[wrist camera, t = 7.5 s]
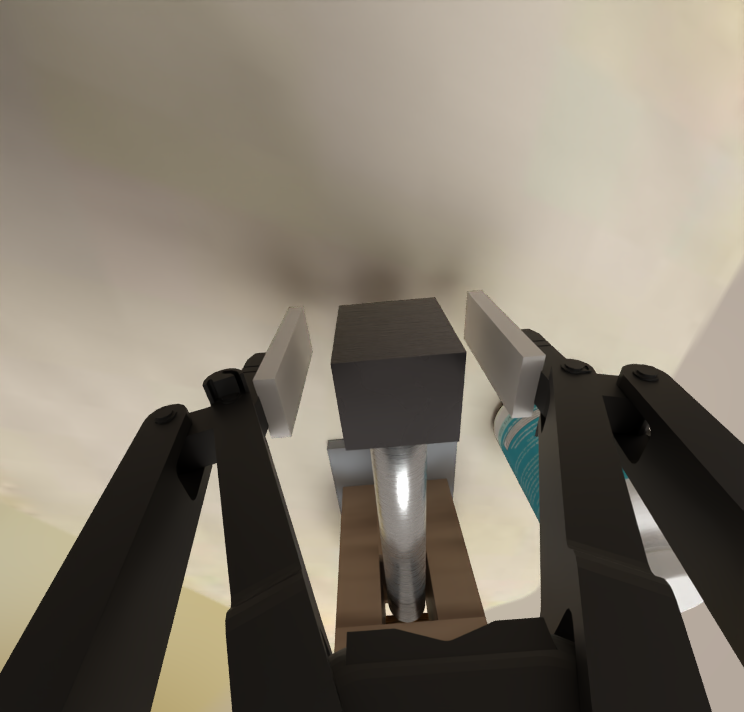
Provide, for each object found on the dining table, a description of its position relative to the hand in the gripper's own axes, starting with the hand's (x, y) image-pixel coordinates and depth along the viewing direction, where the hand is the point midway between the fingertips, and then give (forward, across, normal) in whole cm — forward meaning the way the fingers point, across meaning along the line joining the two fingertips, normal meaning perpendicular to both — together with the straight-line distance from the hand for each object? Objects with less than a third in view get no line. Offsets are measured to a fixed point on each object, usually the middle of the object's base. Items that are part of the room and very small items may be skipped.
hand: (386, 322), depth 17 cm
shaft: (-2, 0, -10) cm, 10 cm away
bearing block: (+5, 0, -24) cm, 24 cm away
